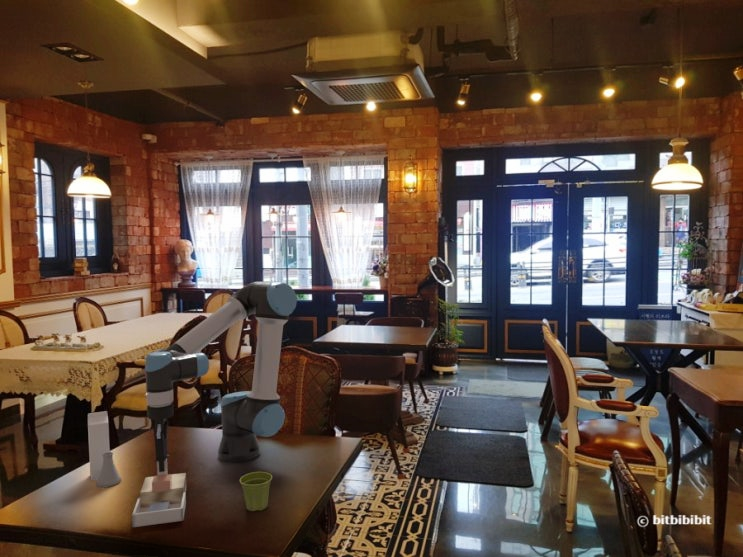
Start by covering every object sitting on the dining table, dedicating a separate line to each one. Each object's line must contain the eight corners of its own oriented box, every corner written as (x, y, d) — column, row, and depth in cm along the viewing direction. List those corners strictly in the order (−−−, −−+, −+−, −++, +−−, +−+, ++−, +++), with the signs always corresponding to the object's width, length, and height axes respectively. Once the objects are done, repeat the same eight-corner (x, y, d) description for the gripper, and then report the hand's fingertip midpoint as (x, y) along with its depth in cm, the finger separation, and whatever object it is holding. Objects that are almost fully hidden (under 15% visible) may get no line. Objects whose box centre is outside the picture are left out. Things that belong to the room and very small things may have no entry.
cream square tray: (186, 488, 177) (185, 472, 177) (183, 503, 166) (183, 487, 166) (146, 493, 174) (145, 477, 174) (140, 509, 163) (140, 492, 163)
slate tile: (167, 509, 155) (167, 519, 155) (169, 501, 160) (169, 511, 160) (148, 511, 154) (148, 522, 154) (150, 503, 159) (151, 513, 159)
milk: (110, 477, 187) (108, 413, 186) (90, 481, 184) (88, 415, 183) (109, 471, 193) (107, 408, 191) (89, 475, 190) (87, 411, 188)
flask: (111, 488, 178) (110, 458, 178) (91, 487, 180) (90, 456, 179) (125, 479, 186) (124, 449, 185) (106, 478, 187) (105, 448, 186)
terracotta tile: (172, 483, 169) (171, 474, 169) (170, 490, 164) (169, 480, 164) (154, 485, 168) (154, 476, 167) (152, 492, 163) (151, 482, 163)
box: (185, 503, 166) (185, 492, 166) (183, 520, 156) (182, 508, 156) (138, 509, 163) (138, 498, 163) (132, 527, 153) (132, 514, 152)
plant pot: (257, 517, 157) (256, 487, 156) (233, 509, 162) (232, 480, 161) (279, 504, 165) (278, 475, 164) (256, 497, 170) (255, 469, 169)
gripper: (149, 399, 173) (152, 473, 174) (143, 410, 161) (146, 490, 162) (175, 397, 175) (177, 471, 176) (171, 408, 162) (173, 487, 163)
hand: (162, 480), depth 169 cm, fingers closed
